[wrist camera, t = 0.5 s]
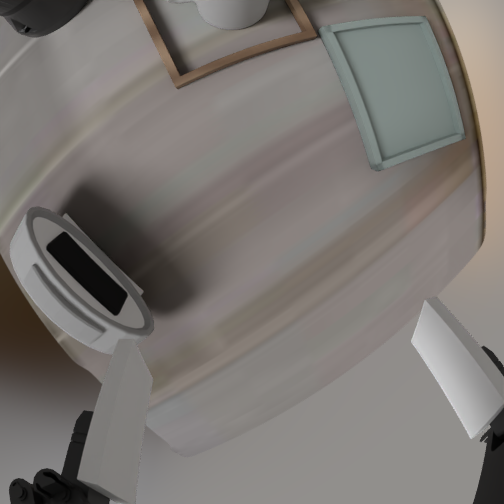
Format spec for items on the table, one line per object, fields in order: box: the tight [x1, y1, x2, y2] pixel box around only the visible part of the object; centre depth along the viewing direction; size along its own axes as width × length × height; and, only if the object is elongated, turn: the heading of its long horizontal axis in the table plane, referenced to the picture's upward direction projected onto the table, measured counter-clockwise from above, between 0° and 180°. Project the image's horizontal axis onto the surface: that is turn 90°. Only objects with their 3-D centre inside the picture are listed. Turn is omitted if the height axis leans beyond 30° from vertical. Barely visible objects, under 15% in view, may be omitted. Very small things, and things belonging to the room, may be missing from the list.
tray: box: [318, 16, 466, 171], centre depth 29 cm, size 20×18×2 cm
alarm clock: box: [10, 207, 154, 355], centre depth 32 cm, size 23×6×13 cm, turn 39°
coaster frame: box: [133, 0, 317, 89], centre depth 23 cm, size 18×18×2 cm
